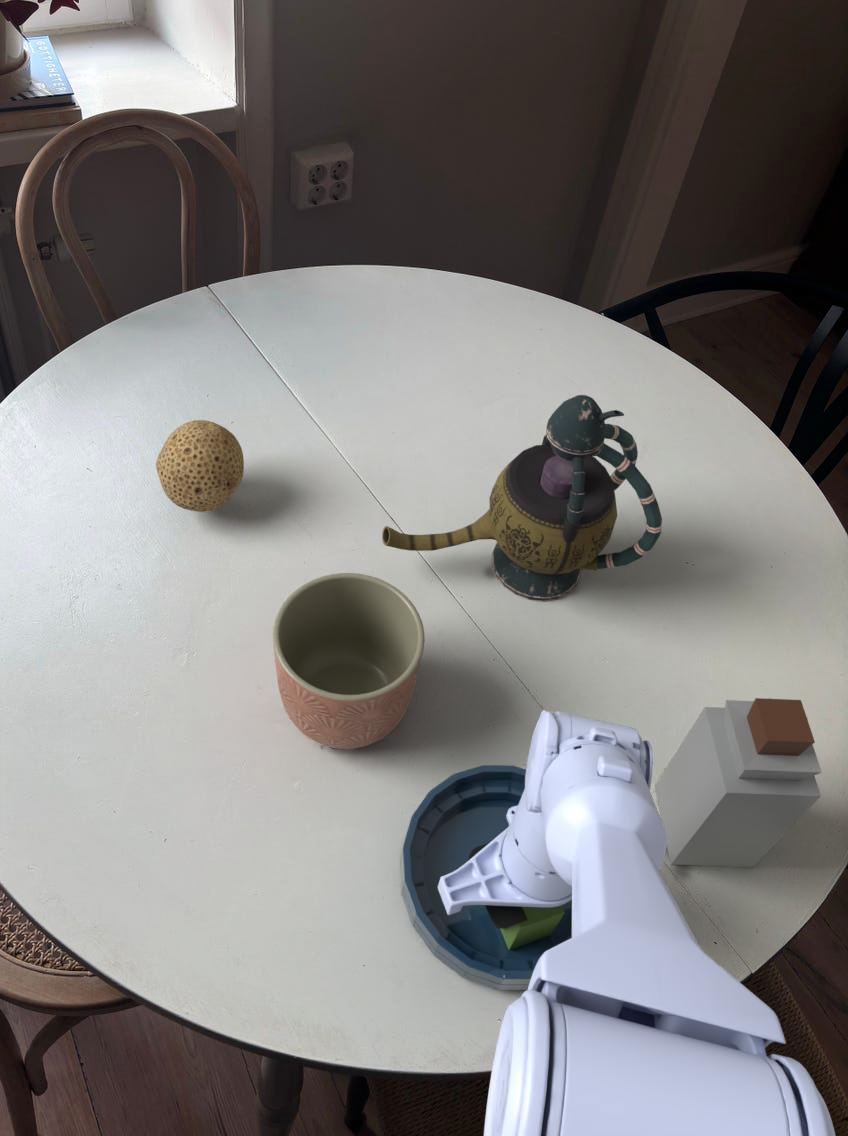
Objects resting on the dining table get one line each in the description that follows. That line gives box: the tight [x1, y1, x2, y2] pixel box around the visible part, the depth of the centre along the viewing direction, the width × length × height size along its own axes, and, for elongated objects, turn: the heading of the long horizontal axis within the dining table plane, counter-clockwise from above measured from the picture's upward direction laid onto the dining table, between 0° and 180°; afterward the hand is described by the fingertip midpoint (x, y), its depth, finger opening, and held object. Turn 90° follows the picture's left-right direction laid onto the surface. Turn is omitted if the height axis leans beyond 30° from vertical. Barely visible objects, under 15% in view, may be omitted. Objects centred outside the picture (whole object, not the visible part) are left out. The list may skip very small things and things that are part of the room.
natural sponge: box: [155, 419, 245, 513], centre depth 96 cm, size 9×9×10 cm
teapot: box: [381, 394, 663, 602], centre depth 87 cm, size 12×25×23 cm, turn 94°
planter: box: [272, 572, 426, 750], centre depth 80 cm, size 12×12×11 cm
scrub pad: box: [500, 905, 565, 950], centre depth 70 cm, size 5×4×5 cm
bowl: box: [399, 764, 572, 991], centre depth 73 cm, size 16×16×4 cm
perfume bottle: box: [654, 697, 823, 868], centre depth 71 cm, size 7×7×18 cm
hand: (520, 904), depth 71 cm, fingers closed on scrub pad, 3 cm apart
